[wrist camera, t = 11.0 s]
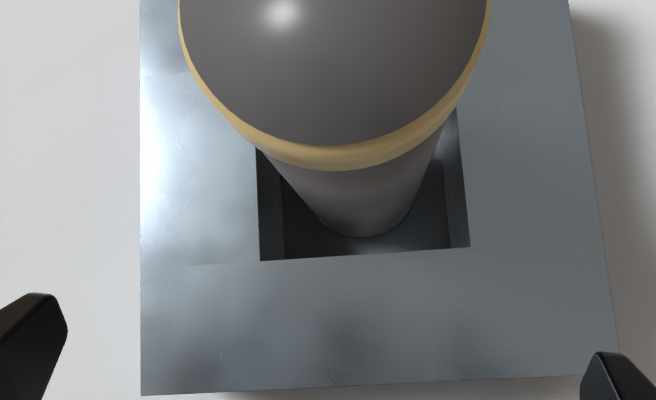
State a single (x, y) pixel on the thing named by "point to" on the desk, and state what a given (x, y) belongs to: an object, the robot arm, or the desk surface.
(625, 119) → the desk surface
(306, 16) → the plug
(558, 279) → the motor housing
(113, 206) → the desk surface
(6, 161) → the desk surface
